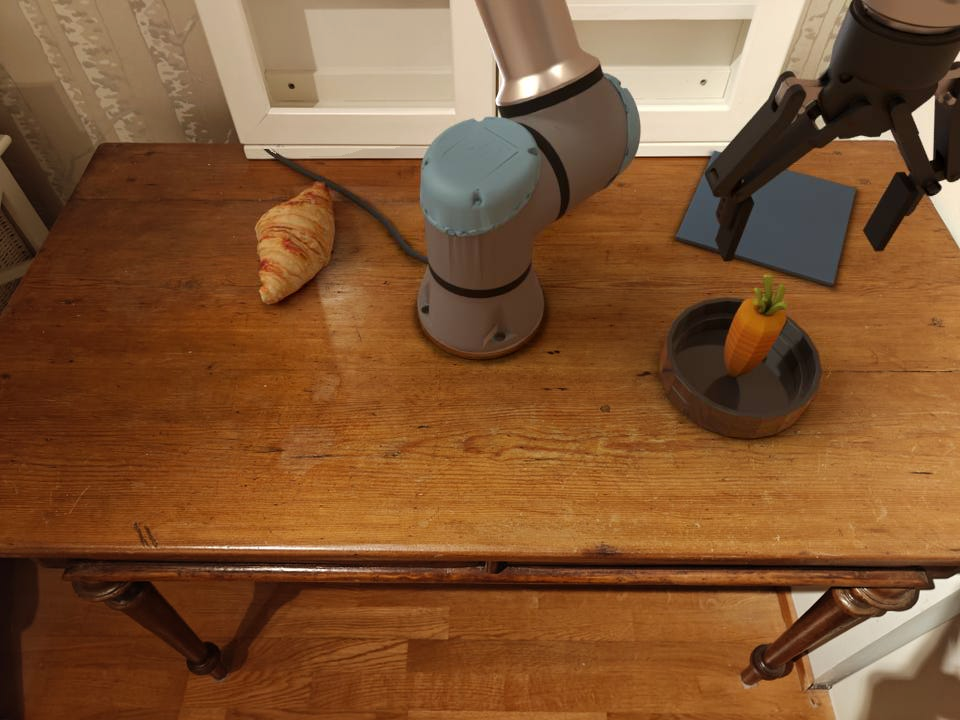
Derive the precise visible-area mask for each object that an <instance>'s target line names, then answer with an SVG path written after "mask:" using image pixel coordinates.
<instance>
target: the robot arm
mask: <svg viewBox="0 0 960 720" xmlns="http://www.w3.org/2000/svg"><path fill="white" fill-rule="evenodd" d="M474 3H475V6H476V9H477V12H478V14H479V17H480V20H481V23H482V25H483V29H484V30H485V33H486V37H487V39H488V43H489V45H490V47H491V50H492V53H493V57H494V59H495V62H496V65H497V67H498V70H499V73H500V75H501V79H502V81H501V82H502V83H501V86H500V88H499V90H498V93H497V96H496V98H495V104H496V107H497V110H498V113H499V115H500V116H484V118H483V119H482V120H480V121H479V120H477V119H476V118H474V117H473V118H469V119H465V120H462V121H460V122H457V123H455V124H453V125H451V126H449V127H448V128H446V129H444V130H443V131H441V133H439V135H437V136H436V137H435V138H434V140H433V141H432V142H431V143H430V144H429V146H428V147H427V149H426V151H425V153H424V156H423V159H422V162H421V167H420V187H419V201H420V206H421V210H422V213H423V222H424V223H423V224H424V232H425V245H426V254H427V256H426V255H424V254H421V253H419V252H417V251H416V250H414V248H412V247H411V246H410V245H408V243H407V242H406V241H405V240H404V239H403V237H402V236H401V235H400V233H398V231H397V230H396V229H395V227H394V226H393V225H392V223H390V222H389V220H387V218H386V217H385V216H384V215H382V213H380V211H378V210H376V209H375V207H373V206H372V205H370V203H368V202H366V201H365V200H364V199H362V198H361V197H360V196H357V195H356V194H354V193H353V192H352V191H349V190H347V189H346V188H344V187H343V186H341V185H339V184H337V183H335V182H333V181H331V180H330V179H327V178H325V177H323V176H321V175H319V174H316V173H315V172H312V171H310V170H308V169H307V168H304V167H303V166H301V165H299V164H298V163H296V162H294V161H292V160H290V159H288V158H287V157H285V156H283V155H281V154H280V153H279V152H277V151H275V150H274V149H272V150H273V151H274V152H276V154H275V153H273V152H271V151H270V150H269V149H263V151H265V152H266V153H267V154H268V155H270V156H271V157H272V158H274V159H275V160H276V161H279V162H280V163H282V164H283V165H286V166H287V167H289V168H291V169H292V170H294V171H296V172H298V173H299V174H301V175H303V176H305V177H307V178H308V179H309V178H310V179H311V180H314V181H315V182H317V181H318V182H325V183H326V184H327V186H328V188H331V189H332V190H334V191H336V192H338V193H339V194H341V195H342V196H344V197H346V198H348V199H349V200H351V201H352V202H354V203H355V204H357V205H358V206H360V207H361V208H362V209H364V210H365V211H367V212H368V214H370V215H371V216H373V217H374V218H375V219H376V220H377V221H378V222H380V223H381V225H382V226H383V227H384V228H385V229H386V230H387V232H388V233H389V234H390V235H391V237H392V238H393V239H394V240H395V242H396V243H397V244H398V245H399V246H400V248H401V249H402V250H403V251H404V252H405V254H408V256H410V257H411V258H412V259H415V260H416V261H419V262H421V263H424V264H426V265H427V266H426V269H425V272H424V275H423V278H422V280H421V283H420V286H419V289H418V293H417V298H416V310H417V318H418V322H419V325H420V327H421V330H422V332H423V333H424V335H425V336H426V337H427V339H428V340H429V341H430V342H431V343H432V344H434V345H435V346H436V347H437V348H438V349H440V350H442V351H444V352H445V353H448V354H451V355H452V356H457V357H459V358H463V359H468V360H469V359H470V360H490V359H491V360H492V359H496V358H501V357H504V356H507V355H510V354H513V353H514V352H517V351H518V350H520V349H521V348H523V347H524V346H526V345H527V344H528V343H529V342H530V341H531V340H532V339H533V338H534V337H535V336H536V334H537V333H538V331H539V330H540V327H541V324H542V322H543V317H544V309H545V300H544V293H543V289H542V286H541V284H540V282H539V279H538V276H537V274H536V271H535V268H534V265H533V262H532V261H533V250H534V249H533V248H534V240H535V239H536V237H537V236H538V235H540V233H542V232H543V231H544V230H546V229H547V228H549V227H550V226H552V225H553V224H554V223H556V222H557V221H559V220H560V219H562V218H563V217H564V216H565V215H567V214H569V213H570V212H571V211H573V210H574V209H575V208H577V207H579V206H580V205H581V204H583V203H584V202H585V201H587V200H589V199H590V198H591V197H593V196H595V195H596V194H597V193H600V192H601V191H603V190H605V189H607V188H608V187H609V186H611V185H612V184H613V183H614V182H615V180H617V178H618V177H619V176H620V175H622V174H623V173H624V172H625V171H626V170H627V169H628V168H629V167H630V166H631V164H633V163H632V162H633V161H634V159H635V156H637V153H638V150H639V146H640V143H641V142H640V141H641V134H642V129H641V128H642V125H641V117H640V113H639V109H638V105H637V104H636V103H637V102H636V100H635V99H634V96H633V95H632V92H631V91H630V90H629V89H628V88H627V87H622V82H621V80H620V79H618V78H617V77H616V76H614V75H612V74H610V73H608V72H603V68H602V64H601V61H600V59H599V58H598V57H597V56H594V55H593V54H591V53H588V52H587V51H585V50H584V49H582V47H580V43H579V40H578V37H577V32H576V29H575V27H574V24H573V20H572V19H573V18H572V16H571V13H570V10H569V6H568V3H567V0H474ZM848 5H849V6H848V8H847V11H846V13H845V16H844V17H843V20H842V22H841V25H840V27H839V30H838V32H837V35H836V37H835V40H834V42H833V45H832V50H831V54H830V60H829V63H828V65H827V68H826V69H825V70H824V71H823V73H822V74H821V75H820V76H819V77H817V79H808V78H807V79H806V78H798V77H797V76H796V74H795V73H794V72H793V71H792V70H785V71H783V72H782V73H781V74H780V75H779V76H778V77H777V80H776V82H775V84H774V85H773V88H772V89H771V92H770V94H769V96H768V98H767V100H766V101H765V102H764V103H763V104H762V105H761V106H760V108H759V109H758V110H757V111H756V112H755V113H754V114H753V116H752V117H751V118H750V119H749V120H748V121H747V123H745V125H744V126H743V127H742V128H741V130H739V131H738V133H737V134H736V135H735V136H734V137H733V138H732V140H731V141H730V142H729V143H728V145H727V146H725V147H724V149H723V150H722V151H720V152H721V154H720V155H719V156H718V157H717V158H716V159H715V160H714V162H713V163H712V164H711V165H710V166H709V167H708V168H707V167H706V168H707V170H706V169H705V170H706V171H705V170H704V172H705V177H706V179H707V182H708V184H709V186H710V189H711V191H712V193H713V196H715V197H721V199H720V201H719V204H718V208H717V210H716V217H717V220H718V222H719V225H720V228H719V230H718V233H717V236H716V239H715V241H716V244H717V246H718V249H719V251H720V253H719V254H720V256H721V259H722V261H723V262H733V260H734V258H735V257H734V255H735V252H736V250H737V247H738V245H739V242H740V240H741V237H742V234H743V232H744V229H745V227H746V224H747V222H748V219H749V216H750V214H751V211H752V209H753V206H754V204H755V203H754V201H753V199H752V197H751V195H752V194H753V193H755V192H756V191H757V190H759V189H760V188H761V187H763V186H764V185H766V184H767V183H768V182H770V181H771V180H772V179H774V178H775V177H776V176H778V175H779V174H780V173H782V172H783V171H784V170H788V169H789V168H791V166H792V165H794V164H795V163H797V162H798V161H799V160H801V159H802V158H803V157H805V156H806V155H807V154H809V153H811V151H813V150H814V149H823V148H825V147H826V146H827V145H829V144H831V142H833V141H834V140H836V139H837V138H838V139H839V140H849V139H854V138H858V137H864V138H865V137H867V138H880V137H881V136H882V134H884V133H886V132H888V131H890V133H891V135H892V137H893V139H894V141H895V144H896V146H897V148H898V151H899V153H900V155H901V157H902V159H903V162H904V164H905V166H906V168H907V170H908V172H909V173H908V174H907V173H906V171H896V172H895V173H894V175H893V176H892V178H891V180H890V181H889V183H888V185H887V187H886V189H885V190H884V192H883V193H882V196H881V198H880V199H879V201H878V203H877V205H876V206H875V207H874V209H873V211H872V213H871V215H870V216H869V218H868V220H867V222H866V223H865V225H864V227H863V229H862V233H863V234H864V236H865V238H866V239H867V241H868V242H869V244H870V246H871V248H872V249H873V250H874V252H884V251H885V249H886V247H887V246H888V244H889V243H890V241H891V239H892V238H893V237H894V234H895V233H896V231H897V230H898V228H899V227H900V225H901V224H902V222H903V220H904V218H905V217H910V216H911V215H912V214H913V213H914V212H915V210H916V209H917V208H918V206H919V204H920V202H921V201H922V199H923V198H924V196H926V197H929V198H930V197H935V196H936V195H938V194H939V193H940V192H941V191H942V189H943V186H942V184H941V183H940V182H943V181H947V182H948V183H956V182H957V181H959V180H960V60H956V59H957V57H958V55H959V54H960V0H851V1H850V3H849V4H848ZM933 97H934V109H933V141H932V142H933V144H932V145H933V146H932V159H931V160H930V159H929V157H928V154H927V152H926V150H925V146H924V144H923V142H922V139H921V137H920V135H919V134H920V131H919V128H918V126H917V124H916V121H915V118H914V116H913V113H914V112H916V111H917V110H918V109H919V108H921V107H922V106H923V105H924V104H925V103H927V102H928V101H930V100H931V99H932V98H933ZM820 116H821V119H822V121H823V123H824V124H825V125H824V126H823V127H821V128H819V126H818V125H817V123H816V121H817V119H818V118H819V117H820ZM742 180H744V181H742Z"/></svg>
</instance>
